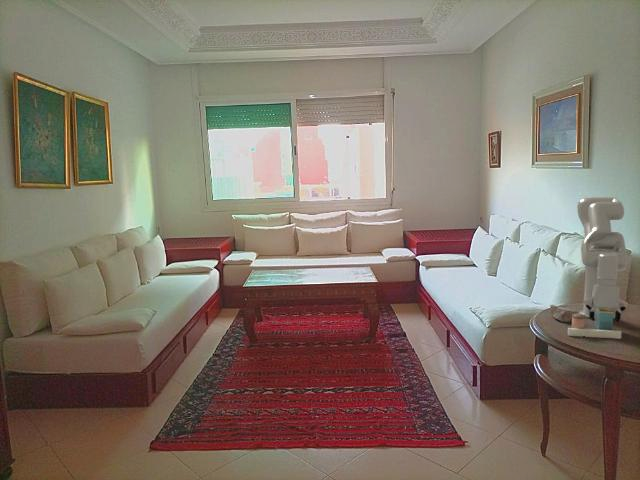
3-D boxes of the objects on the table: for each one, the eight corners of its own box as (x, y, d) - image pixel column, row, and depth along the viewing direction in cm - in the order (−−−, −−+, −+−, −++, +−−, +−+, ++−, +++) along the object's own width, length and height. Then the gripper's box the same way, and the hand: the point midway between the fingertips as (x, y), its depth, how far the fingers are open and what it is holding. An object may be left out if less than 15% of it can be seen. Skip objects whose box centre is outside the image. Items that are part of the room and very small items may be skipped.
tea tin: (598, 332, 213) (600, 311, 212) (594, 326, 220) (595, 306, 219) (612, 332, 212) (613, 311, 210) (607, 327, 219) (609, 306, 217)
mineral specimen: (545, 319, 232) (546, 306, 231) (551, 315, 237) (552, 303, 236) (574, 325, 223) (575, 312, 222) (579, 321, 228) (580, 308, 227)
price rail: (567, 334, 212) (568, 327, 211) (620, 337, 206) (620, 330, 206) (568, 335, 210) (568, 329, 210) (621, 338, 205) (621, 332, 204)
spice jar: (569, 330, 216) (570, 313, 215) (583, 331, 215) (584, 313, 214) (572, 334, 211) (573, 316, 210) (585, 335, 210) (586, 317, 209)
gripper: (626, 280, 213) (624, 319, 216) (582, 279, 218) (580, 316, 220) (632, 284, 206) (629, 324, 209) (586, 283, 211) (584, 321, 213)
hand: (604, 320), depth 214 cm, fingers open, 9 cm apart
